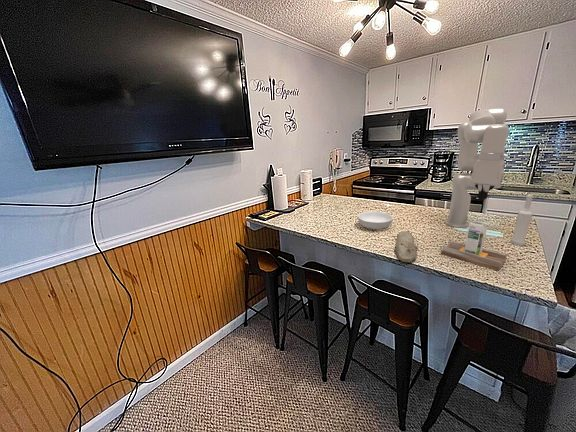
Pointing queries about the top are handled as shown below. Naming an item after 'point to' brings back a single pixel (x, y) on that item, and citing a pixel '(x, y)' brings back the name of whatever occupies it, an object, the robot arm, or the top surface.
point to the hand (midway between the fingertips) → (481, 199)
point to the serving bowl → (375, 219)
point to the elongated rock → (406, 247)
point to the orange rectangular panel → (479, 255)
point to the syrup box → (475, 237)
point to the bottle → (522, 223)
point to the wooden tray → (475, 256)
